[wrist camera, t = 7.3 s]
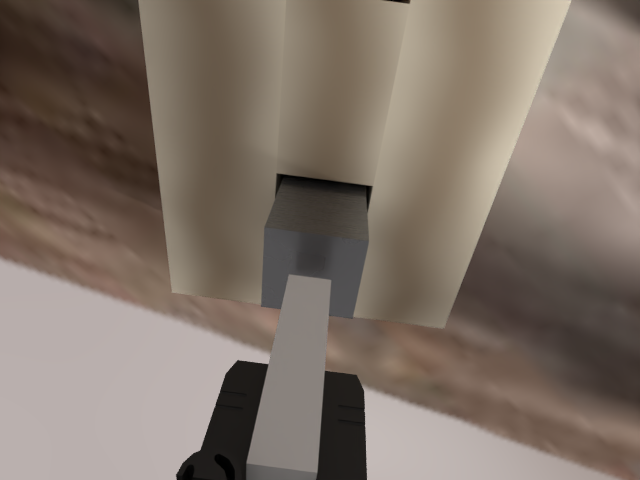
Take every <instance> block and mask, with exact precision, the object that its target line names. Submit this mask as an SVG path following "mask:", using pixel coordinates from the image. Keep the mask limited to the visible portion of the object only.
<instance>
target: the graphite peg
mask: <svg viewBox="0 0 640 480" xmlns="http://www.w3.org/2000/svg"><path fill="white" fill-rule="evenodd" d="M368 245H369V231H368V216H367V202H366V187H365V185H361V184H354V183H346V182H339V181H331V180H324V179H316V178H309V177H301V176H294V175H286V174H284V177H283V179H282V182H281V185H280V187H279V190H278V193H277V195H276V198H275V201H274V203H273V206H272V208H271V211H270V214H269V216H268V219H267V222H266V224H265V227H264V248H263V271H262V295H261V307H269V308H276V309H281V307H282V303H283V298H284V294H285V289H286V285H287V281H288V276H289V274H290V275H298V276H306V277H313V278H321V279H328V280H331V290H330V304H329V316H336V317H344V318H351V319H353V315H354V310H355V306H356V301H357V296H358V291H359V287H360V282H361V277H362V273H363V268H364V263H365V259H366V254H367V249H368Z"/></svg>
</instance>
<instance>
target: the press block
mask: <svg viewBox="0 0 640 480" xmlns="http://www.w3.org/2000/svg"><path fill="white" fill-rule="evenodd" d="M571 1H572V0H393V1H386V0H138V2H139V11H140V19H141V28H142V37H143V45H144V54H145V63H146V71H147V80H148V89H149V97H150V106H151V115H152V123H153V132H154V141H155V149H156V158H157V166H158V175H159V184H160V192H161V201H162V210H163V218H164V227H165V236H166V244H167V253H168V262H169V270H170V279H171V288H172V293H180V294H187V295H195V296H202V297H210V298H217V299H225V300H232V301H240V302H247V303H255V304H261V295H262V271H263V248H264V227H265V224H266V222H267V219H268V216H269V214H270V211H271V208H272V206H273V203H274V201H275V198H276V195H277V193H278V190H279V187H280V185H281V182H282V179H283V177H284V174H286V175H294V176H301V177H309V178H316V179H324V180H331V181H339V182H346V183H354V184H361V185H365V187H366V202H367V216H368V231H369V245H368V249H367V254H366V259H365V263H364V268H363V273H362V277H361V282H360V287H359V291H358V296H357V301H356V306H355V310H354V315H353V317H360V318H368V319H375V320H383V321H390V322H398V323H405V324H413V325H420V326H428V327H435V328H443V329H444V327H445V324H446V322H447V319H448V317H449V314H450V311H451V309H452V306H453V304H454V301H455V299H456V296H457V293H458V291H459V288H460V286H461V283H462V281H463V278H464V275H465V273H466V270H467V268H468V265H469V263H470V260H471V257H472V255H473V252H474V250H475V247H476V245H477V242H478V240H479V237H480V234H481V232H482V229H483V227H484V224H485V222H486V219H487V216H488V214H489V211H490V209H491V206H492V204H493V201H494V198H495V196H496V193H497V191H498V188H499V186H500V183H501V180H502V178H503V175H504V173H505V170H506V168H507V165H508V162H509V160H510V157H511V155H512V152H513V150H514V147H515V144H516V142H517V139H518V137H519V134H520V132H521V129H522V127H523V124H524V121H525V119H526V116H527V114H528V111H529V109H530V106H531V103H532V101H533V98H534V96H535V93H536V91H537V88H538V85H539V83H540V80H541V78H542V75H543V73H544V70H545V67H546V65H547V62H548V60H549V57H550V55H551V52H552V49H553V47H554V44H555V42H556V39H557V37H558V34H559V31H560V29H561V26H562V24H563V21H564V19H565V16H566V14H567V11H568V8H569V6H570V3H571Z"/></svg>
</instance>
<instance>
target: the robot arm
mask: <svg viewBox="0 0 640 480" xmlns="http://www.w3.org/2000/svg"><path fill="white" fill-rule="evenodd" d="M330 290H331V280H328V279H321V278H313V277H306V276H298V275H290V274H289V276H288V281H287V285H286V289H285V294H284V298H283V303H282V307H281V312H280V316H279V321H278V325H277V329H276V334H275V338H274V343H273V347H272V352H271V356H270V361H269V364H262V363H254V362H247V361H239V360H238V361H237V362H236V363H235V364H234V365H233V366H232V367H231V368H230V370H229V371H228V372H227V373H226V375H225V378H224V381H223V384H222V387H221V390H220V394H219V396H218V399H217V402H216V406H215V408H214V411H213V414H212V417H211V420H210V423H209V426H208V429H207V432H206V435H205V438H204V441H203V445H202V447H201V450H200V451H198V452H196V453H193V454H192V455H191V456H190V457H189V458H188V459H187V460H186V461H185V462H184V463H183V464H182V466H181V467H180V469H179V471H178V473H177V474H176V477H177V480H367V468H366V435H365V412H364V409H365V404H364V390H363V388H362V385H361V383H360V381H359V379H358V377H357V375H353V374H345V373H337V372H330V371H325V360H326V346H327V332H328V318H329V304H330Z"/></svg>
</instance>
